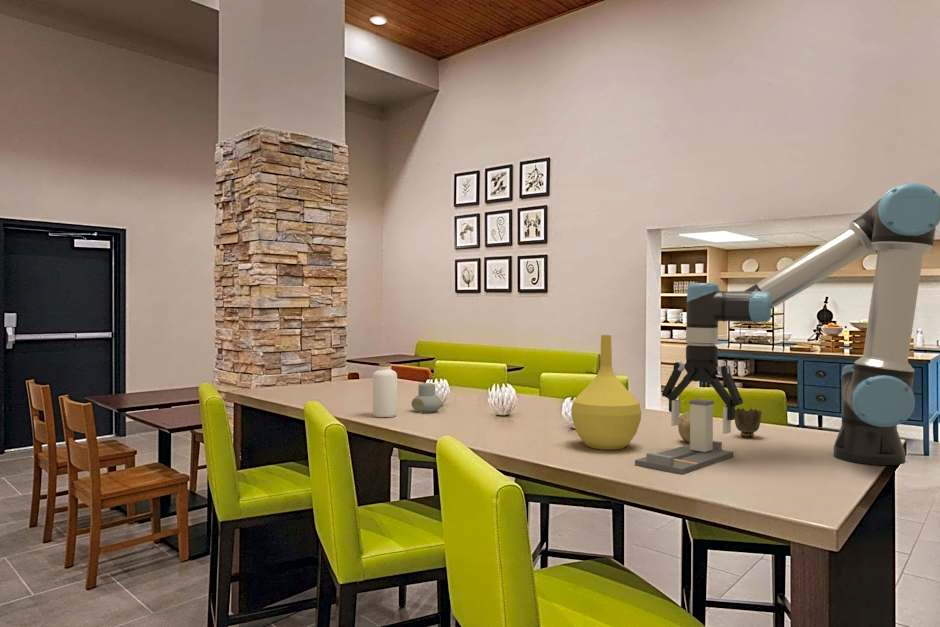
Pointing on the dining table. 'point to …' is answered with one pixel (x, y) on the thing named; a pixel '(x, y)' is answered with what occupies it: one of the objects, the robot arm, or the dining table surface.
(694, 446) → the fader tab
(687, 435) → the coral
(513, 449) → the dining table surface
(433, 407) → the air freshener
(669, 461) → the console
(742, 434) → the cup
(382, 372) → the white bottle
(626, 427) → the vase
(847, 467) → the dining table surface
